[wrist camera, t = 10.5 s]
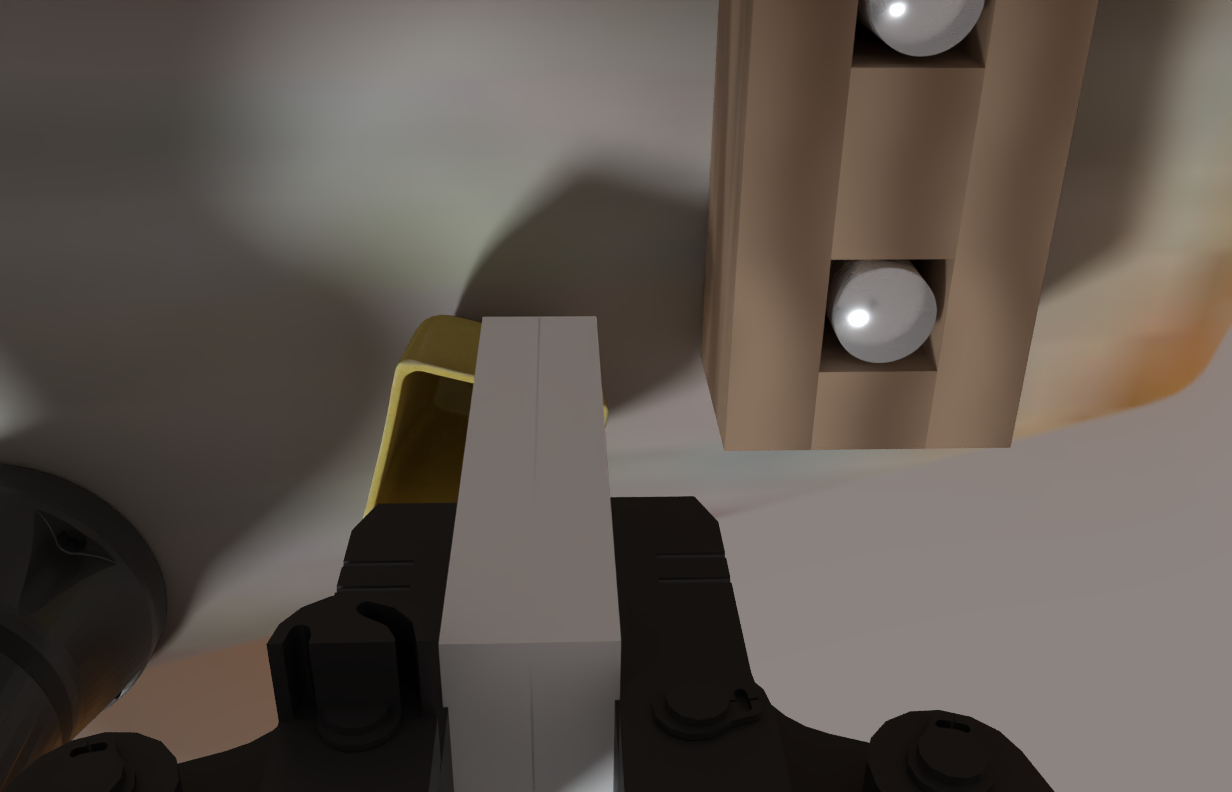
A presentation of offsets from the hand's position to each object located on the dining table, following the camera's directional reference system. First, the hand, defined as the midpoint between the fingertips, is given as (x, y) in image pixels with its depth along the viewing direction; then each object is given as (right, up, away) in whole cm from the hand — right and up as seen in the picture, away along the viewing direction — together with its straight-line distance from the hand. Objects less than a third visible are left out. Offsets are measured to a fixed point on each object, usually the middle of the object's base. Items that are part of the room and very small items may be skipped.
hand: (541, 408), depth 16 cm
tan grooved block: (+11, +13, +35) cm, 39 cm away
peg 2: (+11, +7, +38) cm, 40 cm away
